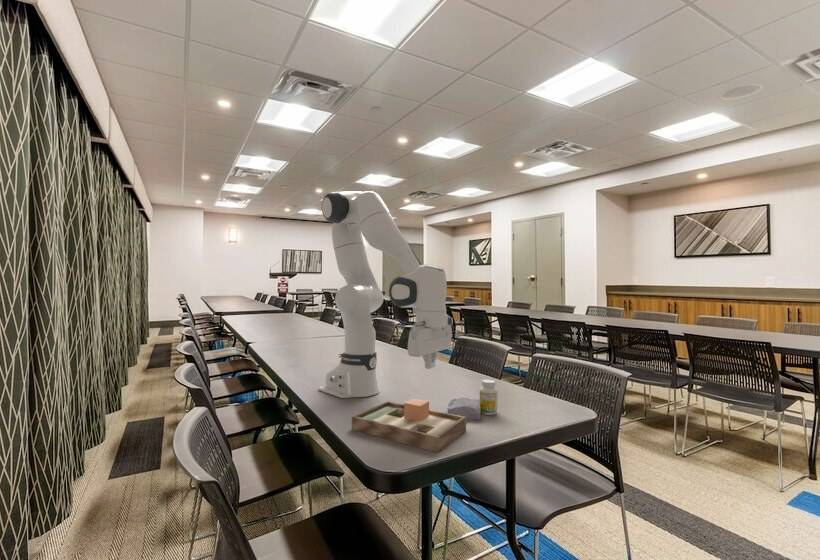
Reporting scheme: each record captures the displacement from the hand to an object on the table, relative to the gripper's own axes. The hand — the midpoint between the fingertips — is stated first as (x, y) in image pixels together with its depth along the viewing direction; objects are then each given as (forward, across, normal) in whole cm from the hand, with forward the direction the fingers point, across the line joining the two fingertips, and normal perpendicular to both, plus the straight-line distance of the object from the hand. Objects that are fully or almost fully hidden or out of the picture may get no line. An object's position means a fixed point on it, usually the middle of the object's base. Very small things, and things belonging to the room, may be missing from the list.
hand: (429, 367), depth 111 cm
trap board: (+15, -11, 0) cm, 18 cm away
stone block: (+15, +10, -6) cm, 19 cm away
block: (+12, -7, 0) cm, 14 cm away
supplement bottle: (+15, +15, -13) cm, 24 cm away
